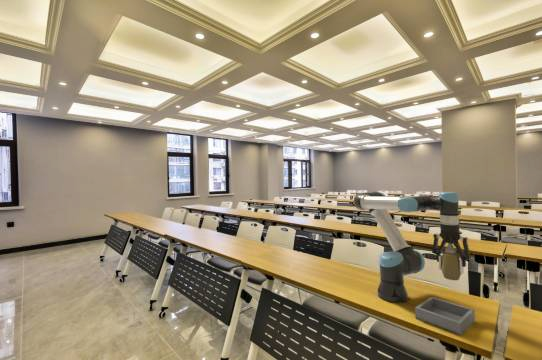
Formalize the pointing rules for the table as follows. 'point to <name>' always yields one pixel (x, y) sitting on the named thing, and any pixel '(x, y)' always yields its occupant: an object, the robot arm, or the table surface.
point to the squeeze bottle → (450, 263)
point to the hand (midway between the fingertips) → (451, 270)
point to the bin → (445, 315)
